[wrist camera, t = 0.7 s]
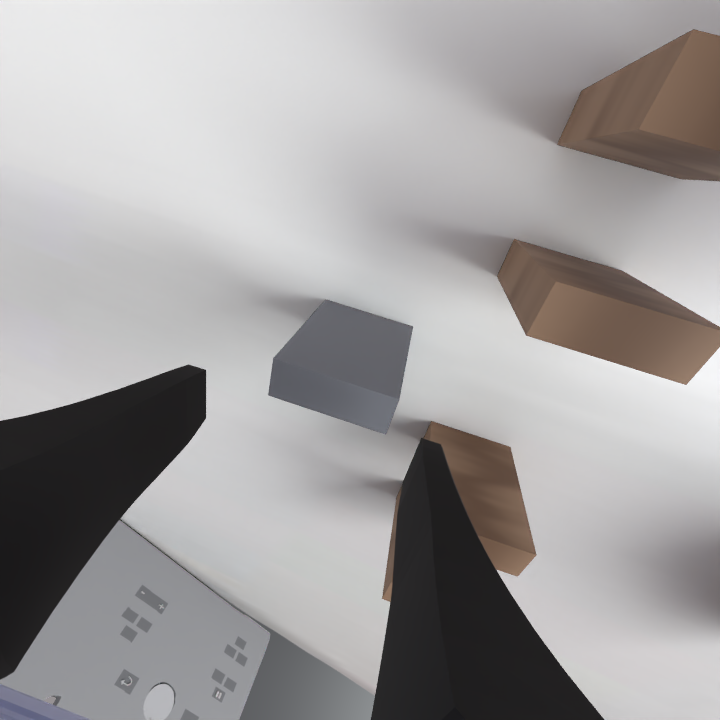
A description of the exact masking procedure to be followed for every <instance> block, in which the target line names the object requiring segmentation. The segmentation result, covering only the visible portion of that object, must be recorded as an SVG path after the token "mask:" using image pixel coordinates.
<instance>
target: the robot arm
mask: <svg viewBox="0 0 720 720" xmlns="http://www.w3.org/2000/svg"><path fill="white" fill-rule="evenodd" d="M205 419H206V370H204V369H201V368H198V367H195V366H191V365H186V366H183V367H180V368H177V369H174V370H171V371H168V372H165V373H162V374H160V375H157V376H154V377H152V378H149V379H146V380H143V381H140V382H138V383H135V384H132V385H129V386H126V387H124V388H121V389H118V390H115V391H112V392H109V393H105V394H102V395H99V396H96V397H93V398H90V399H87V400H84V401H80V402H77V403H74V404H70V405H67V406H63V407H59V408H56V409H52V410H48V411H44V412H40V413H36V414H32V415H27V416H23V417H18V418H13V419H8V420H3V421H0V680H1V679H3V678H5V677H7V676H8V675H10V674H12V673H13V672H14V671H15V670H16V668H17V667H18V665H19V663H20V662H21V660H22V659H23V657H24V655H25V654H26V652H27V651H28V649H29V648H30V646H31V645H32V643H33V641H34V640H35V638H36V637H37V635H38V634H39V632H40V631H41V629H42V628H43V626H44V624H45V623H46V621H47V620H48V618H49V617H50V615H51V614H52V612H53V611H54V609H55V608H56V606H57V605H58V604H59V602H60V601H61V599H62V598H63V596H64V595H65V593H66V592H67V590H68V589H69V588H70V586H71V585H72V583H73V582H74V580H75V579H76V577H77V576H78V575H79V573H80V572H81V570H82V569H83V568H84V566H85V565H86V564H87V562H88V561H89V559H90V558H91V557H92V555H93V554H94V553H95V551H96V550H97V549H98V547H99V546H100V544H101V543H102V542H103V540H104V539H105V538H106V536H107V535H108V534H109V533H110V531H111V530H112V529H113V527H114V526H115V525H116V524H117V522H118V521H119V520H120V518H121V517H122V516H123V514H124V513H125V512H126V511H127V510H128V508H129V507H130V506H131V505H132V504H133V503H134V501H135V500H136V499H137V498H138V497H139V496H140V495H141V494H142V493H143V492H144V491H145V489H146V488H147V487H148V486H149V485H150V484H151V483H152V482H153V481H154V480H155V479H156V478H157V477H158V476H159V474H160V473H161V472H162V471H163V470H164V469H165V468H166V467H167V466H168V465H169V464H170V463H171V462H172V461H173V459H174V458H175V457H176V456H177V455H178V454H179V453H180V452H181V451H182V450H183V449H184V447H185V446H186V445H187V444H188V443H189V441H190V440H191V439H192V437H193V436H194V435H195V433H196V432H197V430H198V429H199V428H200V426H201V425H202V423H203V422H204V420H205ZM0 720H91V719H88V718H86V717H83V716H81V715H78V714H76V713H73V712H70V711H68V710H65V709H63V708H60V707H58V706H55V705H53V704H50V703H48V702H45V701H42V700H40V699H37V698H35V697H32V696H30V695H27V694H25V693H22V692H20V691H17V690H14V689H12V688H9V687H7V686H4V685H2V684H0ZM371 720H604V719H603V718H602V716H601V715H600V714H599V713H598V711H597V710H596V709H595V708H594V706H593V705H592V704H591V703H590V702H589V700H588V699H587V698H586V697H585V695H584V694H583V693H582V692H581V690H580V689H579V688H578V687H577V686H576V684H575V683H574V682H573V681H572V679H571V678H570V677H569V676H568V674H567V673H566V672H565V670H564V669H563V668H562V666H561V665H560V664H559V662H558V661H557V660H556V658H555V657H554V656H553V654H552V653H551V652H550V650H549V649H548V648H547V646H546V645H545V644H544V642H543V641H542V639H541V638H540V637H539V635H538V634H537V632H536V631H535V630H534V628H533V627H532V625H531V624H530V622H529V621H528V619H527V618H526V616H525V615H524V613H523V612H522V610H521V609H520V607H519V606H518V604H517V603H516V601H515V600H514V598H513V597H512V595H511V594H510V592H509V590H508V589H507V587H506V586H505V584H504V582H503V581H502V579H501V577H500V576H499V574H498V572H497V570H496V569H495V567H494V565H493V563H492V562H491V560H490V558H489V556H488V554H487V552H486V551H485V549H484V547H483V545H482V543H481V541H480V539H479V537H478V535H477V533H476V531H475V529H474V526H473V524H472V522H471V520H470V518H469V516H468V514H467V511H466V509H465V507H464V504H463V502H462V499H461V497H460V495H459V492H458V490H457V487H456V485H455V482H454V479H453V477H452V474H451V471H450V468H449V465H448V463H447V460H446V457H445V453H444V450H443V447H442V446H441V444H439V443H436V442H433V441H430V440H426V439H423V438H421V440H420V443H419V445H418V447H417V450H416V452H415V455H414V457H413V459H412V462H411V464H410V466H409V469H408V471H407V474H406V476H405V478H404V481H403V484H402V489H401V495H400V500H399V506H398V512H397V523H396V537H395V552H394V567H393V582H392V593H391V603H390V609H389V616H388V622H387V628H386V635H385V641H384V647H383V653H382V659H381V665H380V671H379V677H378V683H377V689H376V694H375V700H374V705H373V711H372V717H371Z"/></svg>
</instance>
